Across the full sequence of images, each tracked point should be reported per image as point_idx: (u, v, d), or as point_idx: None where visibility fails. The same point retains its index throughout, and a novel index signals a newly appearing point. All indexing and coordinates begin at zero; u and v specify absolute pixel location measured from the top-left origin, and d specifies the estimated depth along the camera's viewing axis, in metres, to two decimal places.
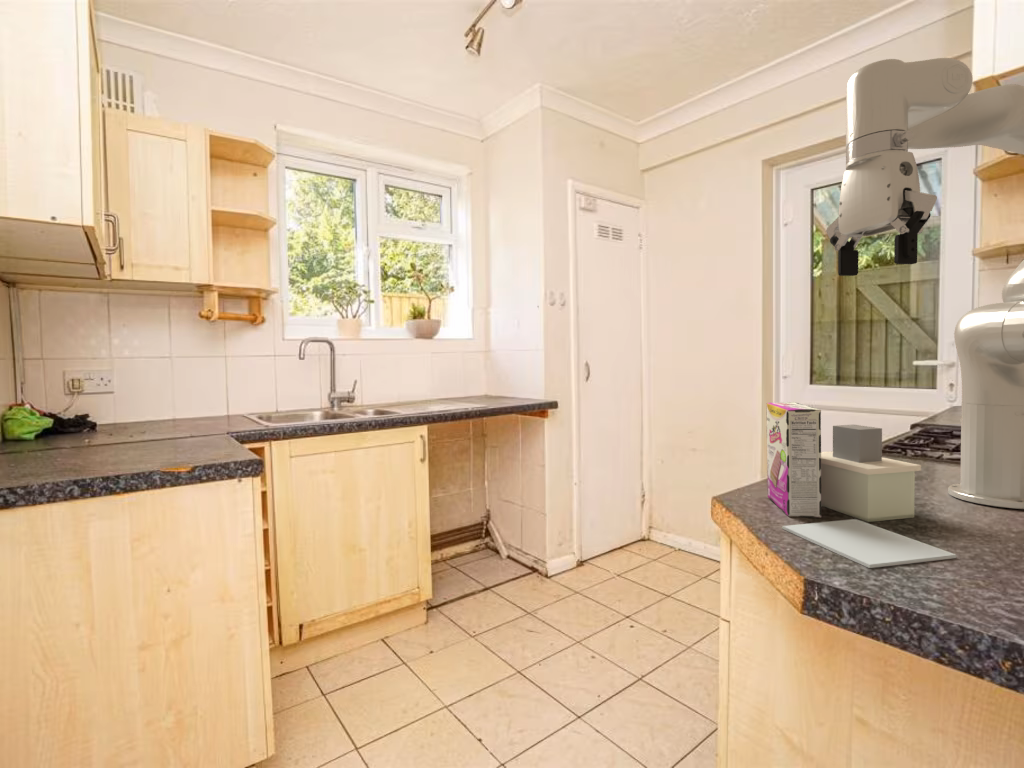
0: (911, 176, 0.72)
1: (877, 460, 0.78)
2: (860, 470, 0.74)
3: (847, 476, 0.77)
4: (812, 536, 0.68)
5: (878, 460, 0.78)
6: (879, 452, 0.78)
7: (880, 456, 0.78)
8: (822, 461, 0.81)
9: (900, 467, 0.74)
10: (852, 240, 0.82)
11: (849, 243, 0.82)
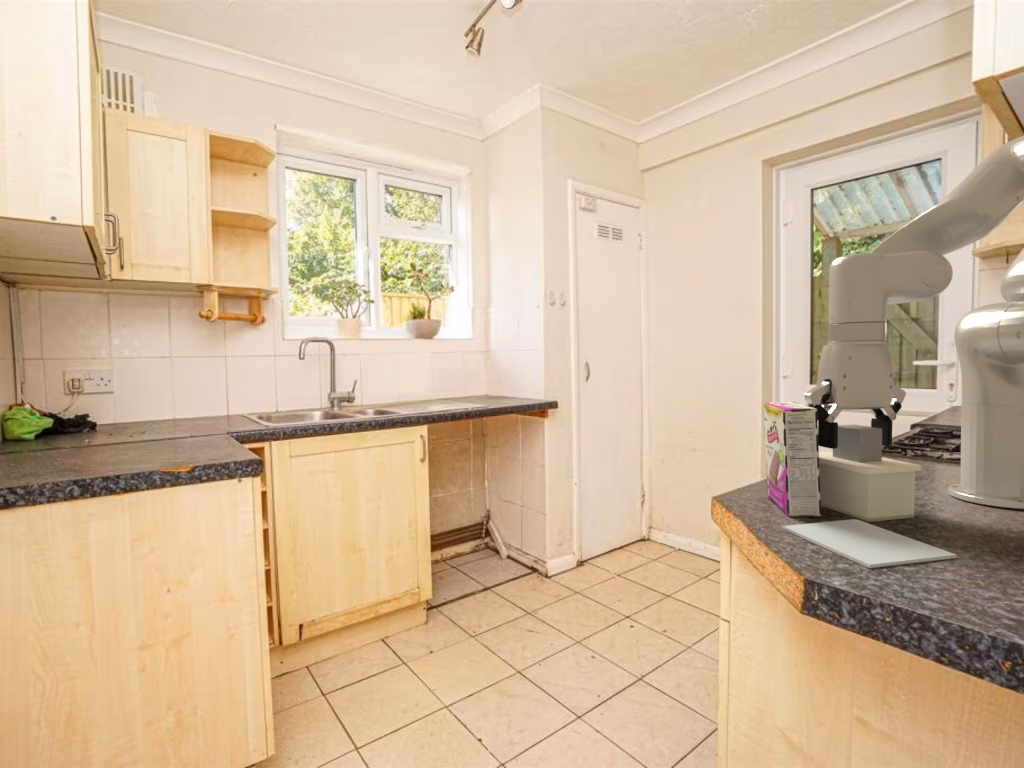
0: None
1: (877, 460, 0.78)
2: (860, 470, 0.74)
3: (847, 476, 0.77)
4: (812, 536, 0.68)
5: (878, 460, 0.78)
6: (879, 452, 0.78)
7: (880, 456, 0.78)
8: (822, 461, 0.81)
9: (900, 467, 0.74)
10: None
11: None
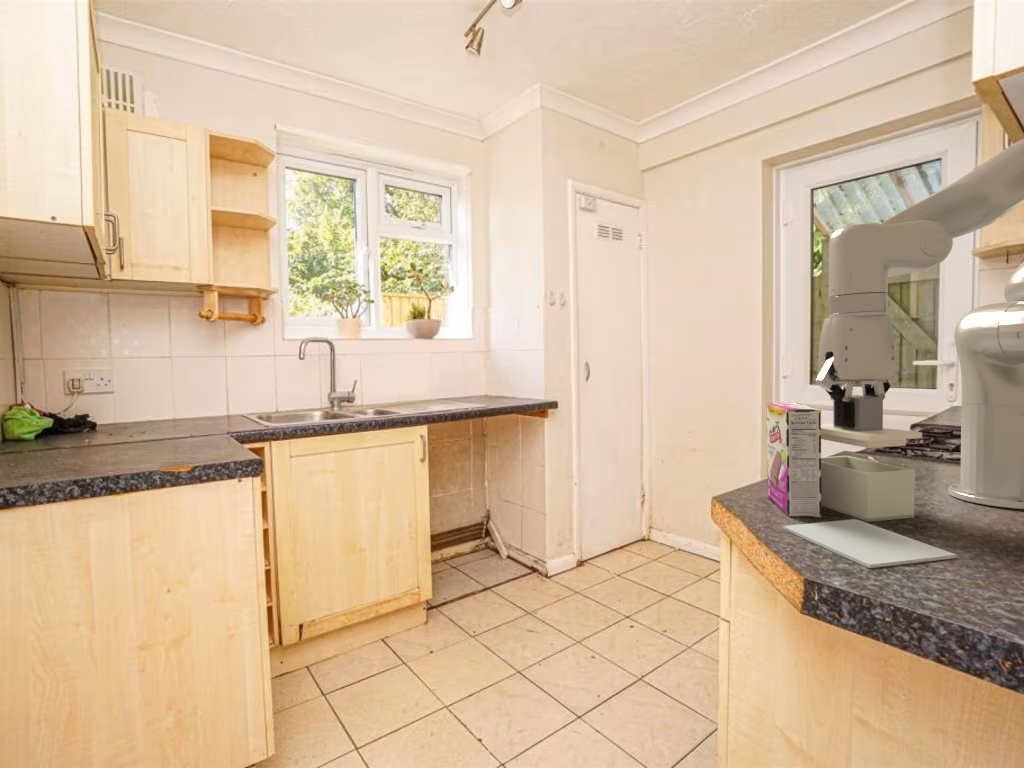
0: None
1: (878, 429, 0.78)
2: (861, 437, 0.74)
3: (847, 476, 0.77)
4: (812, 536, 0.68)
5: (879, 429, 0.78)
6: (879, 420, 0.78)
7: (881, 425, 0.78)
8: (823, 431, 0.81)
9: (901, 434, 0.74)
10: None
11: None
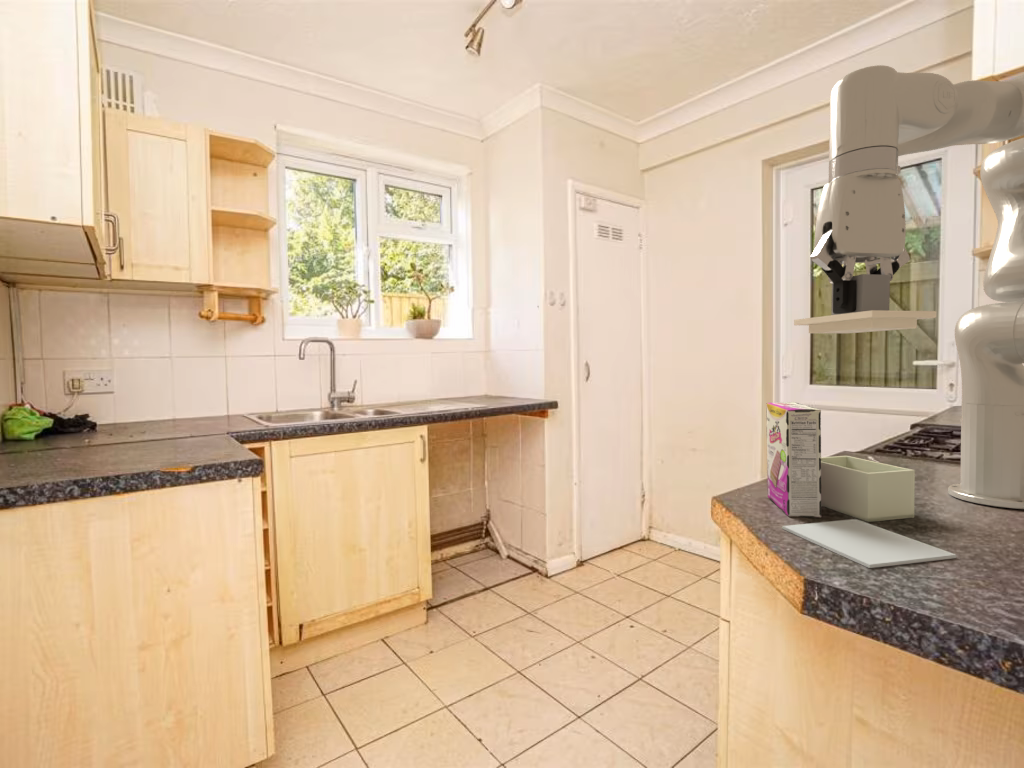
0: None
1: None
2: (863, 314, 0.62)
3: (847, 476, 0.77)
4: (812, 536, 0.68)
5: None
6: (886, 302, 0.66)
7: (887, 308, 0.66)
8: (818, 320, 0.69)
9: (911, 311, 0.62)
10: None
11: None
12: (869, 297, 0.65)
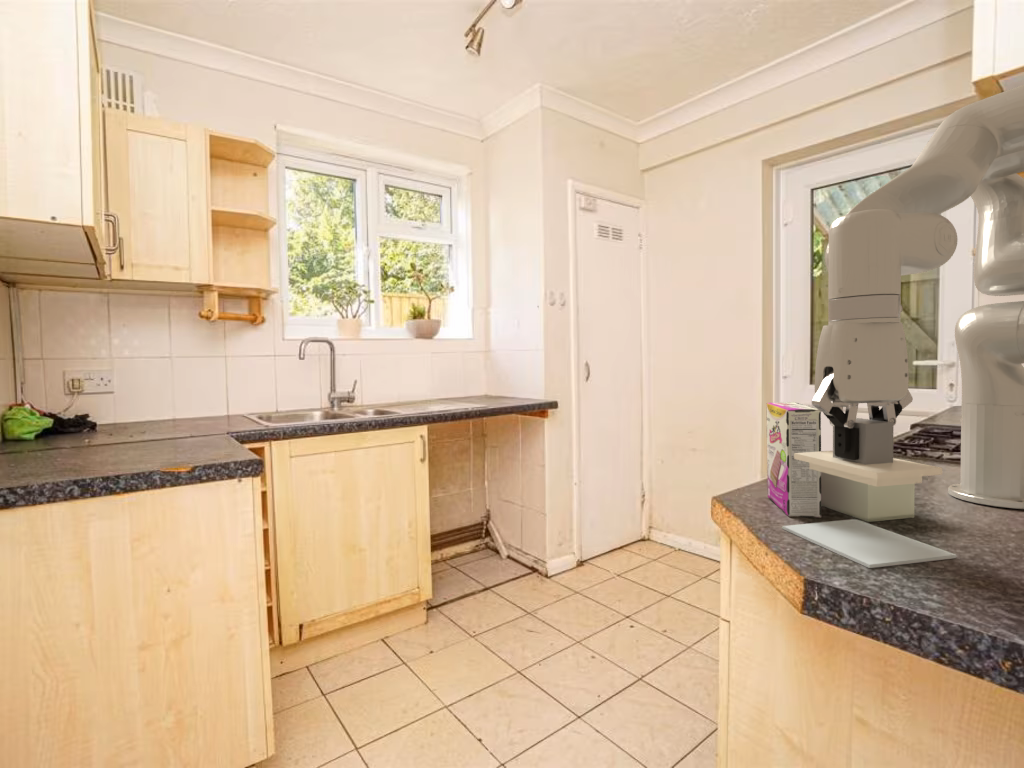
0: None
1: (887, 461, 0.63)
2: (867, 473, 0.60)
3: None
4: (812, 536, 0.68)
5: (889, 461, 0.63)
6: (889, 451, 0.63)
7: (891, 456, 0.63)
8: (820, 462, 0.67)
9: (917, 470, 0.59)
10: None
11: None
12: (872, 447, 0.63)
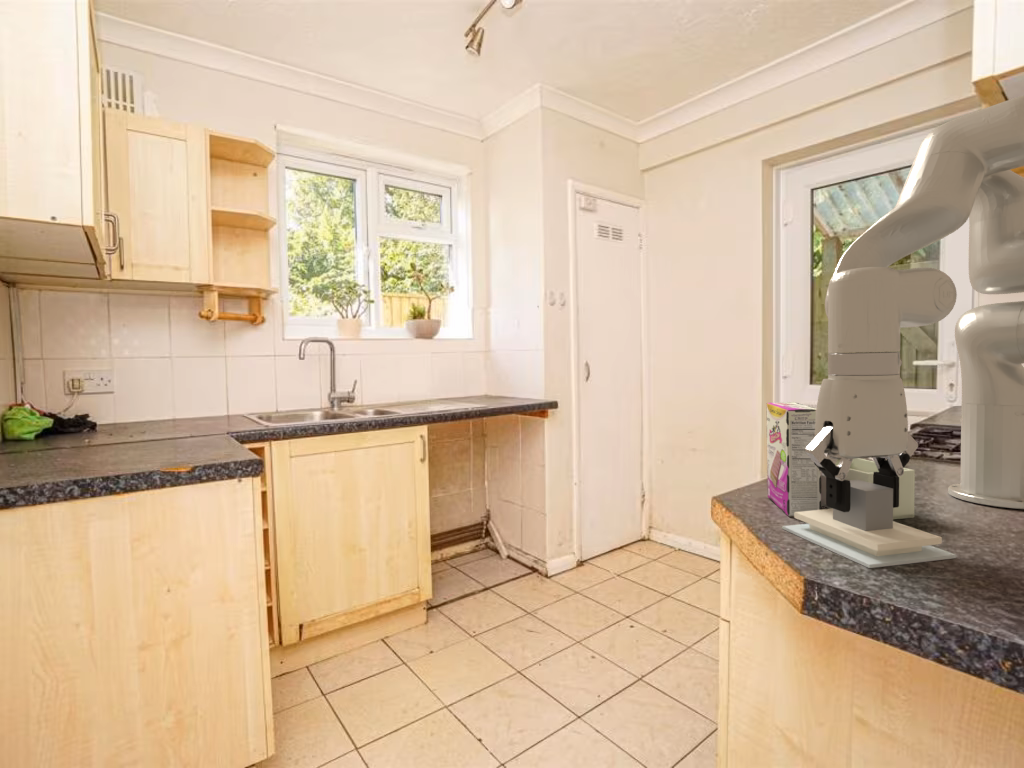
0: None
1: (887, 527, 0.64)
2: (867, 544, 0.60)
3: (847, 476, 0.77)
4: (812, 536, 0.68)
5: (888, 527, 0.64)
6: (889, 517, 0.64)
7: (891, 522, 0.64)
8: (820, 525, 0.67)
9: (916, 540, 0.60)
10: None
11: None
12: (872, 513, 0.63)
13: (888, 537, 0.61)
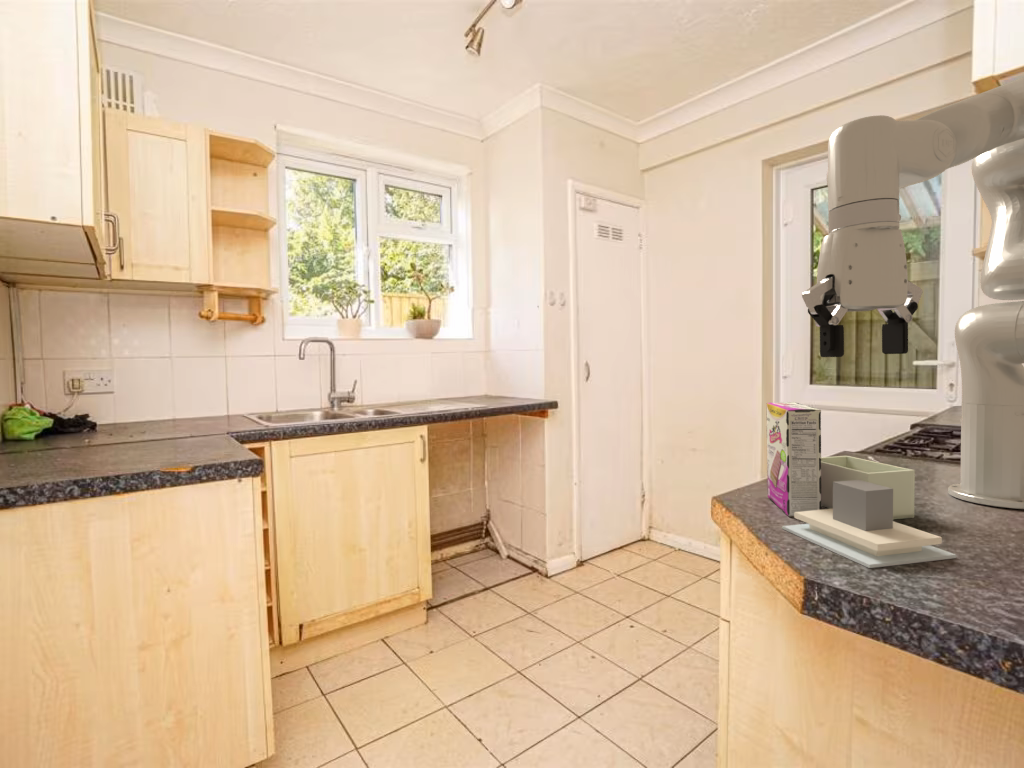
0: None
1: (887, 527, 0.64)
2: (867, 544, 0.60)
3: (847, 476, 0.77)
4: (812, 536, 0.68)
5: (888, 527, 0.64)
6: (889, 517, 0.64)
7: (891, 522, 0.64)
8: (820, 525, 0.67)
9: (916, 540, 0.60)
10: None
11: None
12: (872, 513, 0.63)
13: (888, 537, 0.61)
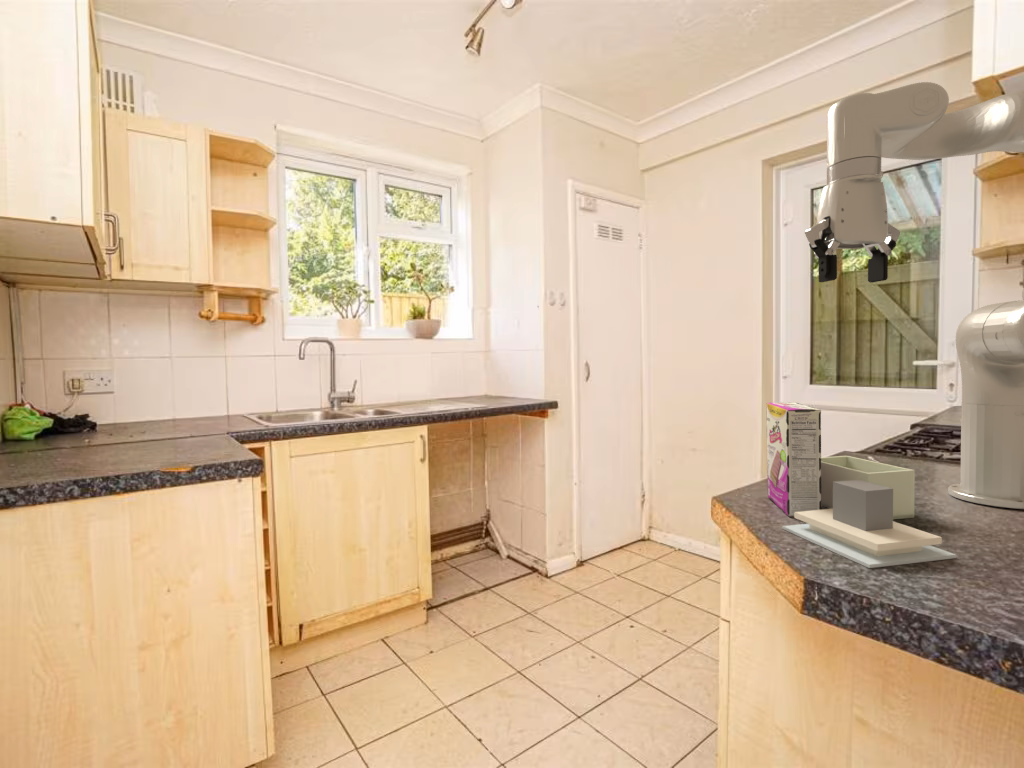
0: None
1: (887, 527, 0.64)
2: (867, 544, 0.60)
3: (847, 476, 0.77)
4: (812, 536, 0.68)
5: (888, 527, 0.64)
6: (889, 517, 0.64)
7: (891, 522, 0.64)
8: (820, 525, 0.67)
9: (916, 540, 0.60)
10: None
11: None
12: (872, 513, 0.63)
13: (888, 537, 0.61)
